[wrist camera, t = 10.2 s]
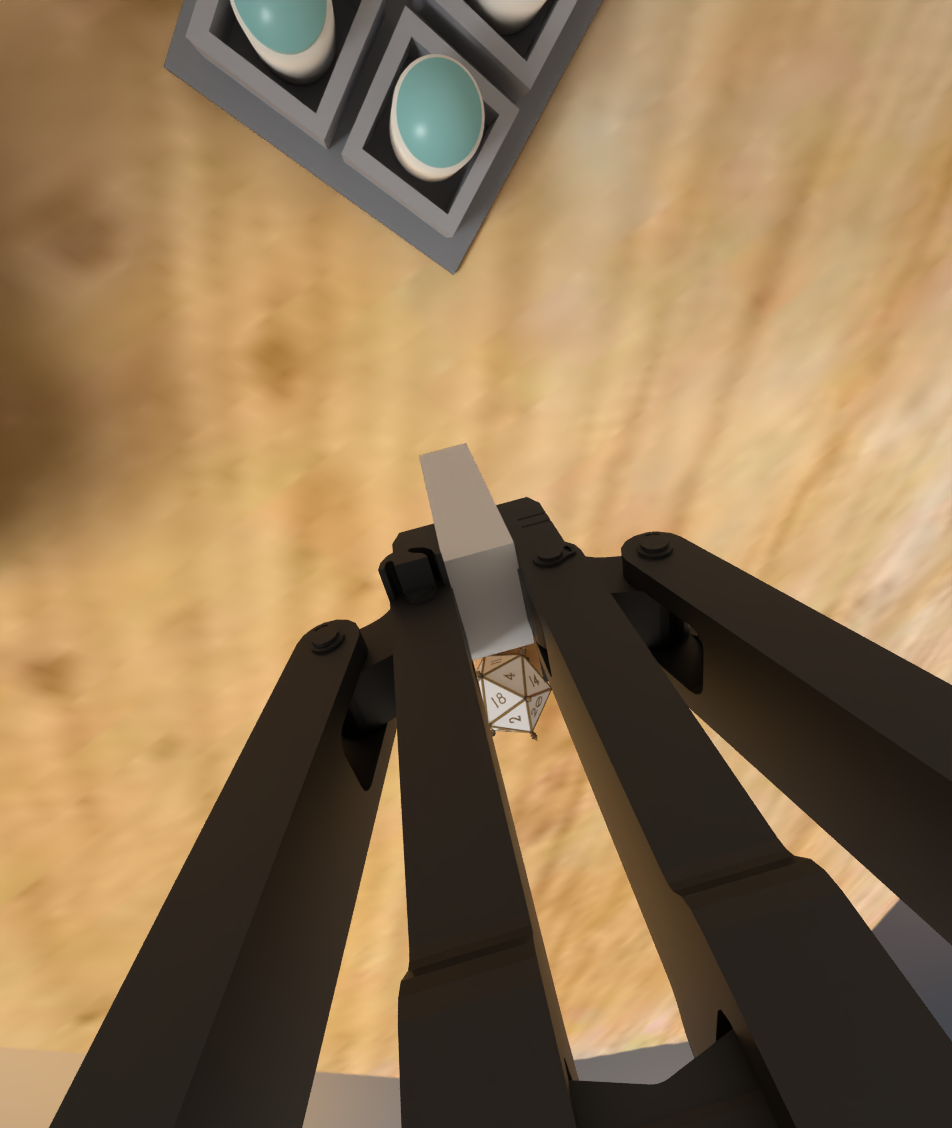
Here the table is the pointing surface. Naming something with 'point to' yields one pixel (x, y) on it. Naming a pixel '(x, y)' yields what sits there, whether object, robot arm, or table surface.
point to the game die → (512, 692)
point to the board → (388, 101)
